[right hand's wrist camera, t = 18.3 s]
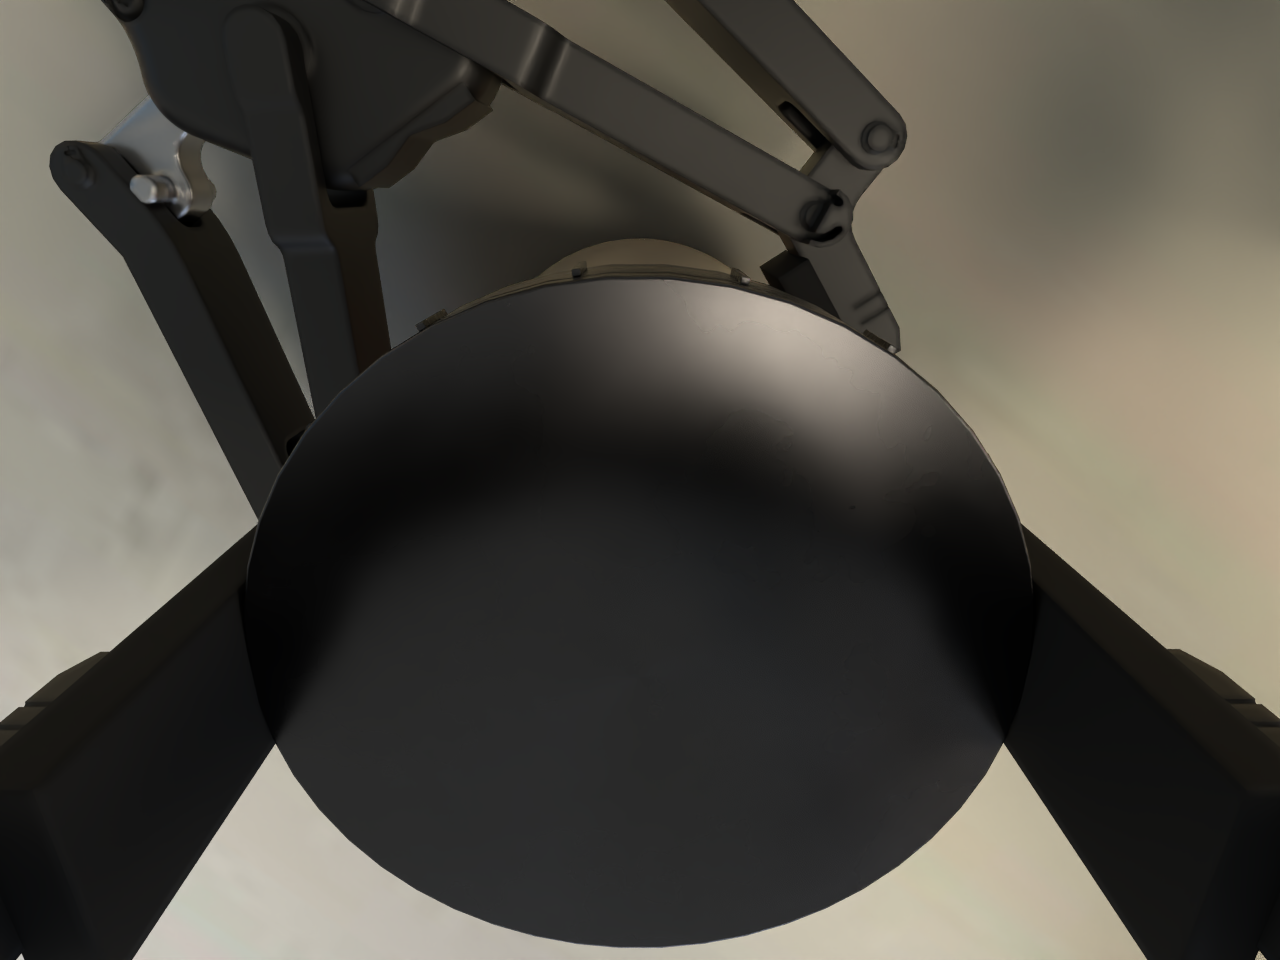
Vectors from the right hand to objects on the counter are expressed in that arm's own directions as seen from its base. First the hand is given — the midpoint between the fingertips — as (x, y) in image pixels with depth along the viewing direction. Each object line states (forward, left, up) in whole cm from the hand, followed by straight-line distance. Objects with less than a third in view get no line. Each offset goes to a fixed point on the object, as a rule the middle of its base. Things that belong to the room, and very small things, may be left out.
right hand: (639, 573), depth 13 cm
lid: (0, 0, +3) cm, 3 cm away
